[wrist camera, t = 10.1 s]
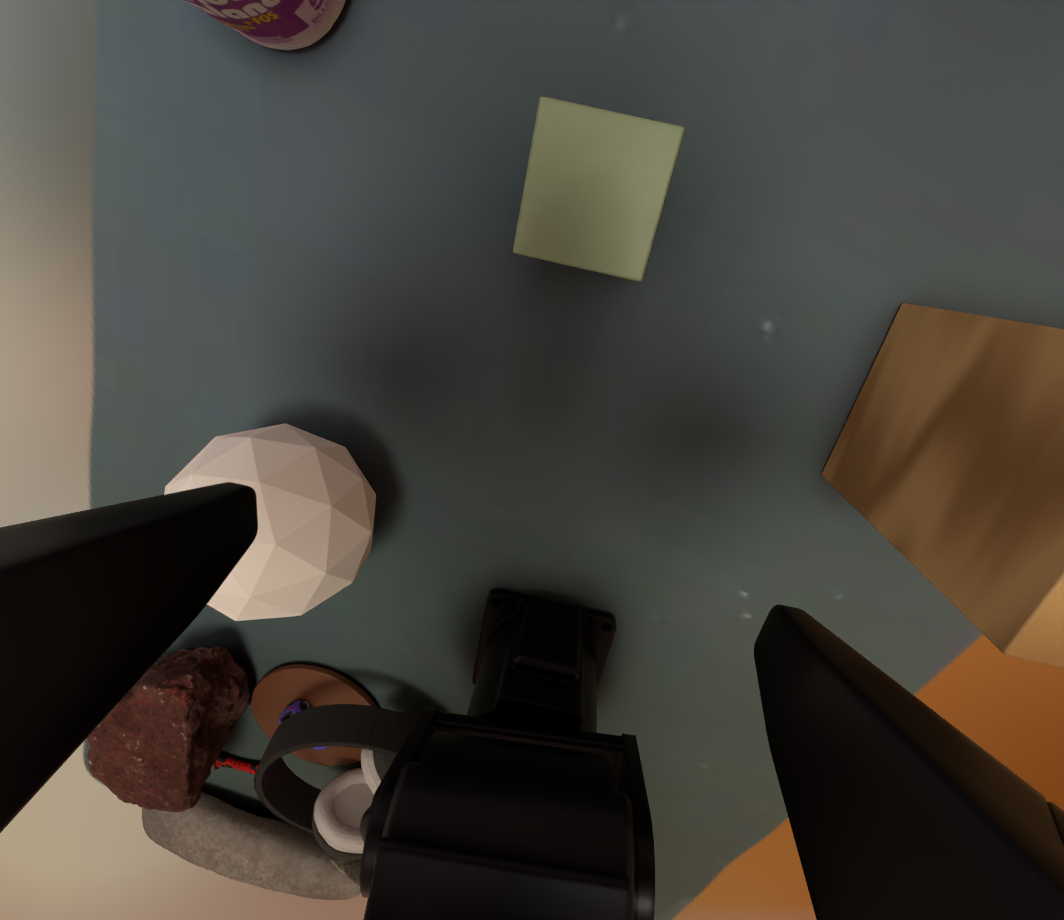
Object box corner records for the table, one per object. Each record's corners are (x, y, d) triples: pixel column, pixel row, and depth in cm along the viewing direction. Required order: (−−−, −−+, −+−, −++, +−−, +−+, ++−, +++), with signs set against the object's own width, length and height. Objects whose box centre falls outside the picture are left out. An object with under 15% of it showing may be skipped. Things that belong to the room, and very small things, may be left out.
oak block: (990, 511, 20) (1319, 725, 11) (820, 475, 20) (1003, 655, 11) (1100, 341, 17) (1667, 440, 8) (901, 302, 18) (1232, 356, 8)
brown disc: (329, 776, 32) (317, 800, 30) (231, 702, 30) (213, 723, 29) (409, 727, 29) (399, 751, 28) (306, 642, 27) (290, 663, 26)
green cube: (632, 276, 18) (641, 282, 15) (528, 252, 18) (512, 253, 15) (665, 154, 17) (685, 126, 13) (551, 129, 17) (539, 94, 13)
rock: (97, 726, 21) (249, 813, 24) (204, 609, 26) (320, 691, 29) (36, 761, 27) (166, 828, 29) (135, 658, 32) (238, 724, 34)
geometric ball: (370, 493, 27) (319, 647, 23) (207, 434, 23) (114, 606, 19) (427, 442, 21) (372, 637, 17) (221, 354, 17) (92, 575, 13)
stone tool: (365, 893, 31) (349, 937, 33) (385, 837, 35) (369, 879, 36) (115, 812, 31) (112, 860, 33) (159, 762, 34) (154, 808, 36)
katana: (266, 753, 32) (260, 763, 31) (272, 770, 33) (265, 780, 32) (93, 731, 33) (84, 740, 33) (102, 748, 34) (93, 757, 34)
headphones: (525, 922, 31) (214, 833, 26) (525, 843, 35) (255, 750, 30) (626, 862, 28) (286, 741, 22) (614, 780, 31) (322, 659, 26)
